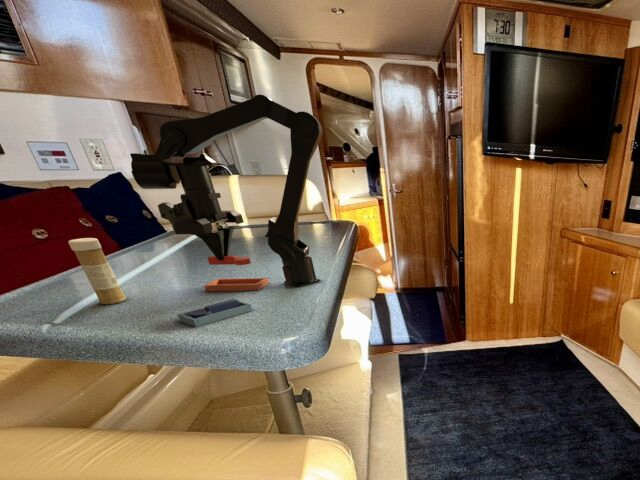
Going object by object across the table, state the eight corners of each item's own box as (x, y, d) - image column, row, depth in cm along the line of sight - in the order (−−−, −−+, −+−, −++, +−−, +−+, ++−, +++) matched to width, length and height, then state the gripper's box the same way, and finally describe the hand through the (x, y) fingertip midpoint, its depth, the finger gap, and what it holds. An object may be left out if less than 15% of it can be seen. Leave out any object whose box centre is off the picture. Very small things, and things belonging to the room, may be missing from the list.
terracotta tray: (269, 283, 103) (267, 277, 103) (258, 290, 98) (257, 284, 97) (219, 284, 102) (217, 278, 102) (206, 291, 97) (203, 285, 96)
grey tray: (236, 305, 88) (234, 299, 87) (252, 310, 85) (250, 304, 85) (179, 320, 79) (176, 314, 79) (195, 326, 77) (193, 320, 76)
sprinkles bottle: (110, 298, 91) (79, 237, 85) (131, 298, 92) (103, 237, 85) (94, 305, 87) (60, 241, 81) (117, 304, 88) (85, 241, 81)
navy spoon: (234, 306, 86) (231, 298, 85) (243, 308, 85) (240, 300, 84) (188, 318, 79) (184, 310, 79) (197, 321, 78) (194, 313, 77)
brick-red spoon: (207, 265, 95) (204, 258, 94) (215, 262, 98) (212, 254, 97) (247, 265, 96) (244, 257, 95) (253, 261, 99) (251, 254, 98)
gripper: (185, 186, 96) (208, 252, 104) (130, 191, 80) (162, 269, 88) (234, 186, 97) (253, 251, 105) (189, 191, 81) (216, 268, 89)
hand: (223, 259), depth 97 cm, fingers closed on brick-red spoon, 2 cm apart
